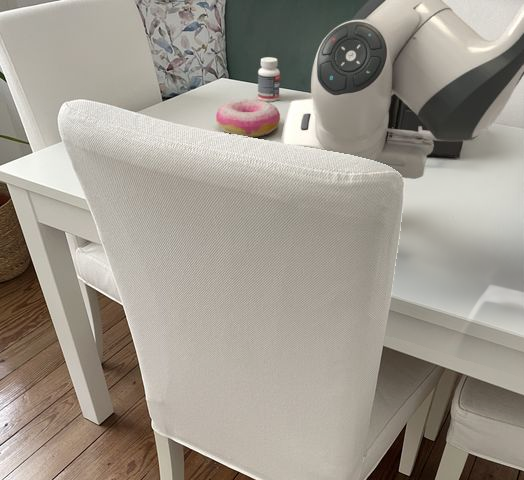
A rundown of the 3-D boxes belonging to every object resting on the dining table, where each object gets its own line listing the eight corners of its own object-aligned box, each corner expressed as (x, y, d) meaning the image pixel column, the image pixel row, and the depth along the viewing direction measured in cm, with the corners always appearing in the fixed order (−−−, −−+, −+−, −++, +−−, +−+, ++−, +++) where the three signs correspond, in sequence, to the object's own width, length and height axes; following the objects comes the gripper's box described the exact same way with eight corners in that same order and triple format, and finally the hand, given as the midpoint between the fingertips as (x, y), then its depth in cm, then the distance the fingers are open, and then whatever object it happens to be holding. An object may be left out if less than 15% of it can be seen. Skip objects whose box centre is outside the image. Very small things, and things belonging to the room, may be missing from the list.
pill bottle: (277, 102, 138) (278, 62, 132) (256, 101, 139) (256, 61, 133) (280, 95, 142) (281, 57, 136) (259, 94, 143) (260, 55, 137)
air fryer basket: (459, 164, 109) (470, 123, 103) (399, 160, 110) (406, 119, 105) (452, 131, 122) (460, 93, 117) (398, 127, 123) (404, 89, 118)
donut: (205, 133, 122) (203, 109, 119) (236, 115, 131) (236, 92, 128) (260, 145, 117) (260, 120, 114) (289, 125, 126) (290, 102, 123)
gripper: (440, 114, 70) (426, 160, 84) (278, 99, 74) (290, 146, 87) (431, 163, 70) (419, 202, 83) (269, 146, 73) (283, 186, 87)
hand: (352, 173), depth 85 cm, fingers open, 8 cm apart
